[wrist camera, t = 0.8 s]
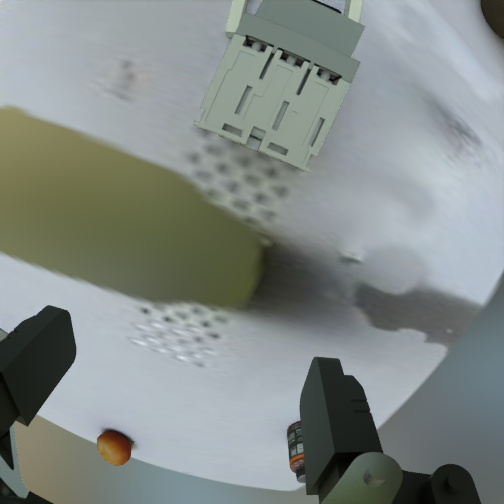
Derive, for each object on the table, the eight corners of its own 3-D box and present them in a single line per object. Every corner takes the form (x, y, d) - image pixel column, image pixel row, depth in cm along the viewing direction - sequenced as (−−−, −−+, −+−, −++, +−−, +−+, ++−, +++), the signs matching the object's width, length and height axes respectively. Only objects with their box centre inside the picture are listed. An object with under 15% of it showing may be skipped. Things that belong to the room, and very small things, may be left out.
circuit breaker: (337, 42, 27) (390, -6, 13) (285, 154, 32) (307, 176, 18) (273, 15, 26) (284, -53, 12) (220, 127, 31) (191, 128, 17)
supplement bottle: (314, 436, 51) (321, 485, 41) (284, 436, 51) (287, 486, 41) (322, 419, 49) (331, 470, 39) (290, 419, 49) (294, 472, 38)
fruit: (132, 458, 55) (109, 473, 48) (111, 431, 58) (86, 444, 50) (146, 448, 53) (121, 465, 46) (123, 419, 55) (96, 434, 48)
